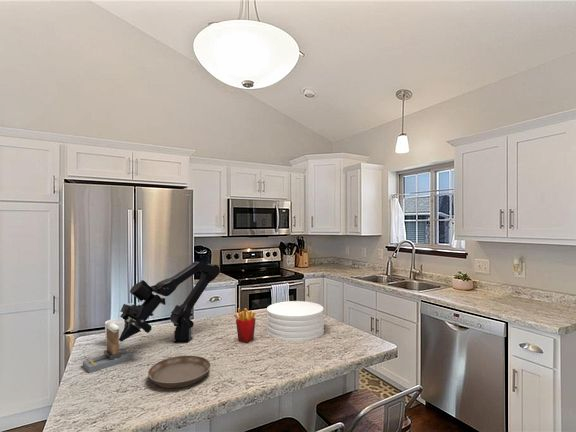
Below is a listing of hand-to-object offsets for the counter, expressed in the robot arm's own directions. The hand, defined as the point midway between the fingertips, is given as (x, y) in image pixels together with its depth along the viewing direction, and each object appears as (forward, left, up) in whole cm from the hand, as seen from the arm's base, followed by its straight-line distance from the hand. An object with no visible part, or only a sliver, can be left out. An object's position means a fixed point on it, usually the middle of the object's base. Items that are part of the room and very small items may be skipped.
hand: (119, 340), depth 125 cm
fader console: (+3, +3, -7) cm, 8 cm away
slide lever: (+2, +2, -5) cm, 6 cm away
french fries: (-47, -20, -7) cm, 51 cm away
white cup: (+12, -17, -8) cm, 22 cm away
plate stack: (-69, -35, -8) cm, 77 cm away
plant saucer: (-30, +13, -8) cm, 33 cm away
